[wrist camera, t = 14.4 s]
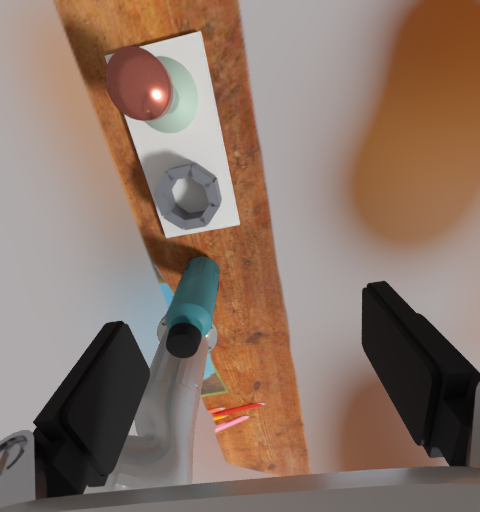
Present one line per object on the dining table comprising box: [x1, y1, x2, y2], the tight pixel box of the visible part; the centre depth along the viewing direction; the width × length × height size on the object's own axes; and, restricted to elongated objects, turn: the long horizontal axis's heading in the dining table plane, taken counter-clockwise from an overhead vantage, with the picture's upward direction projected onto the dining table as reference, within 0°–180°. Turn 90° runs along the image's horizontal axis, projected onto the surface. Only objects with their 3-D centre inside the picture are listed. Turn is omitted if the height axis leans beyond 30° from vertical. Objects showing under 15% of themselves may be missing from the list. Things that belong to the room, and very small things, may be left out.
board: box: [105, 31, 240, 238], centre depth 37 cm, size 26×13×5 cm, turn 11°
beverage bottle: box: [165, 257, 220, 358], centre depth 39 cm, size 6×7×20 cm
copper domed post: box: [105, 46, 179, 121], centre depth 31 cm, size 6×6×10 cm
